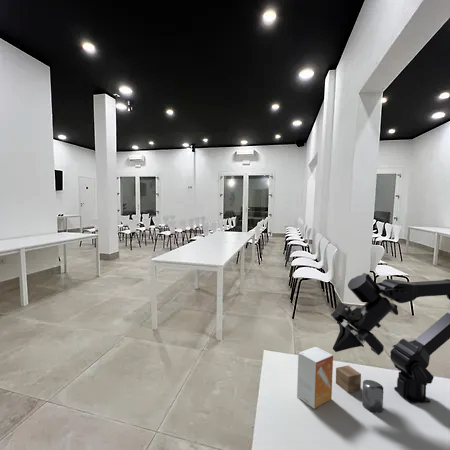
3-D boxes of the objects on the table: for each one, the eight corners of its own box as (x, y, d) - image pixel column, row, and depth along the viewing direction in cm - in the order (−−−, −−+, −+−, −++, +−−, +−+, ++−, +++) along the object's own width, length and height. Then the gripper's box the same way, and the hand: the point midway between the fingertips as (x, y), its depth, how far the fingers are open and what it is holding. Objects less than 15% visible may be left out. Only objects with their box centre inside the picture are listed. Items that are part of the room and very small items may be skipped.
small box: (314, 410, 70) (315, 362, 70) (296, 396, 76) (297, 352, 76) (332, 399, 75) (333, 354, 75) (314, 387, 80) (315, 345, 80)
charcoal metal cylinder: (374, 400, 75) (375, 379, 75) (387, 413, 70) (387, 391, 70) (358, 400, 75) (359, 380, 75) (369, 413, 70) (370, 391, 70)
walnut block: (347, 380, 84) (348, 365, 84) (360, 390, 80) (361, 373, 80) (335, 383, 83) (336, 367, 83) (347, 393, 78) (348, 376, 78)
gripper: (337, 285, 85) (303, 318, 84) (374, 303, 66) (331, 346, 66) (359, 310, 86) (326, 342, 85) (402, 334, 67) (359, 376, 66)
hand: (334, 350), depth 76 cm, fingers closed
